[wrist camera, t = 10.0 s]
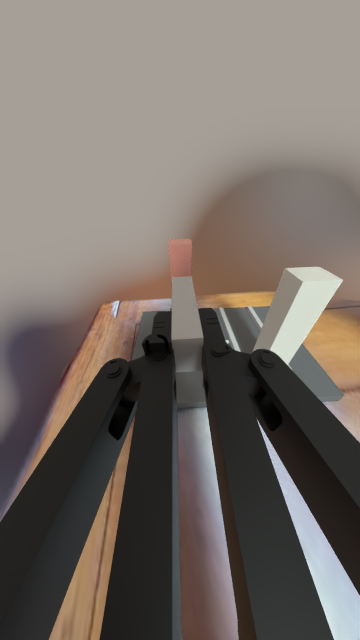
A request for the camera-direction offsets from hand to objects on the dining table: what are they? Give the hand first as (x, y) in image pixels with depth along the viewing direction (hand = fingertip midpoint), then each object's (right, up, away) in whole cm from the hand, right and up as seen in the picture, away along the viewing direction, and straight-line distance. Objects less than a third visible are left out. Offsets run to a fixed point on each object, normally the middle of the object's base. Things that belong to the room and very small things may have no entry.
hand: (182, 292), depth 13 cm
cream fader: (+13, -10, +12) cm, 20 cm away
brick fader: (0, -2, +22) cm, 22 cm away
